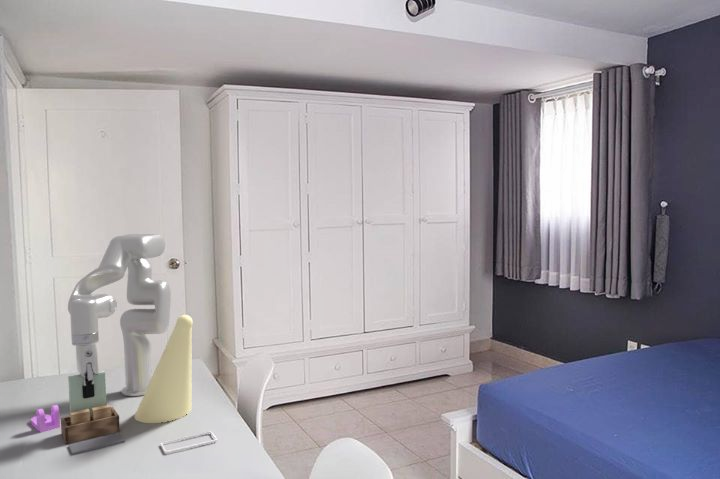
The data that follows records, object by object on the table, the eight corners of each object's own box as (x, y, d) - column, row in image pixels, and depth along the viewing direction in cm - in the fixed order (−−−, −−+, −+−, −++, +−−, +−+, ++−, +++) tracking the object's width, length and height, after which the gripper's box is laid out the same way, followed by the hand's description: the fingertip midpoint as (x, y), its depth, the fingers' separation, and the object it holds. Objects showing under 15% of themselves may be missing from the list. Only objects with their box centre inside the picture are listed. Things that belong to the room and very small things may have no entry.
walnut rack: (113, 421, 177) (112, 407, 176) (119, 431, 169) (119, 415, 169) (61, 433, 168) (60, 418, 168) (65, 444, 160) (64, 427, 160)
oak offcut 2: (110, 429, 171) (109, 404, 171) (112, 431, 169) (110, 406, 168) (93, 433, 168) (91, 408, 168) (94, 435, 166) (93, 410, 166)
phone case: (165, 456, 152) (218, 443, 160) (165, 451, 152) (217, 439, 160) (160, 447, 159) (211, 435, 166) (160, 442, 159) (211, 430, 166)
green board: (105, 425, 174) (103, 370, 173) (107, 427, 172) (104, 372, 171) (71, 433, 168) (68, 376, 167) (72, 435, 166) (69, 378, 165)
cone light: (123, 415, 182) (118, 312, 180) (170, 399, 197) (166, 304, 195) (168, 432, 168) (163, 321, 166) (214, 413, 183) (211, 311, 181)
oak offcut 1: (89, 434, 168) (88, 408, 167) (90, 436, 165) (89, 411, 165) (71, 438, 165) (70, 412, 164) (72, 441, 163) (71, 415, 162)
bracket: (60, 427, 173) (59, 406, 173) (40, 433, 169) (39, 411, 169) (47, 417, 182) (46, 396, 182) (28, 421, 178) (27, 401, 178)
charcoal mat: (119, 434, 167) (119, 432, 167) (124, 442, 161) (124, 440, 161) (68, 446, 159) (68, 444, 159) (72, 455, 153) (72, 453, 153)
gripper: (103, 341, 164) (106, 400, 165) (93, 331, 177) (96, 386, 178) (75, 345, 160) (78, 406, 161) (67, 335, 173) (70, 391, 174)
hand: (87, 395), depth 170 cm, fingers closed on green board, 2 cm apart
